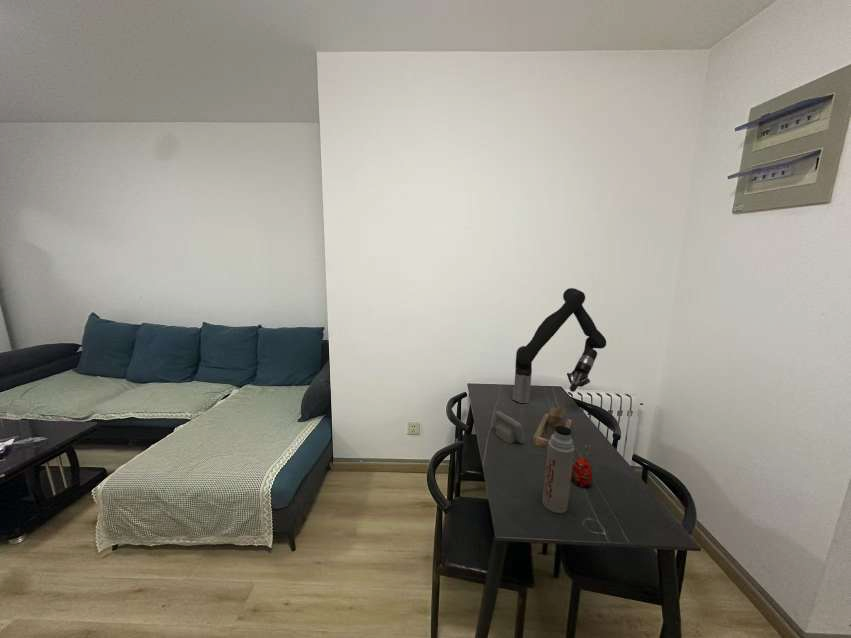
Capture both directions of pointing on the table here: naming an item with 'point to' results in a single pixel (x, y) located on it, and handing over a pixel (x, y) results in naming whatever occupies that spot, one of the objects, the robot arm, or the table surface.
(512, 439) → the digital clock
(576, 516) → the table surface
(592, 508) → the table surface
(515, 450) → the table surface
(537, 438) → the chute
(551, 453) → the thermos bottle
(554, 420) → the block
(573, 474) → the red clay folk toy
